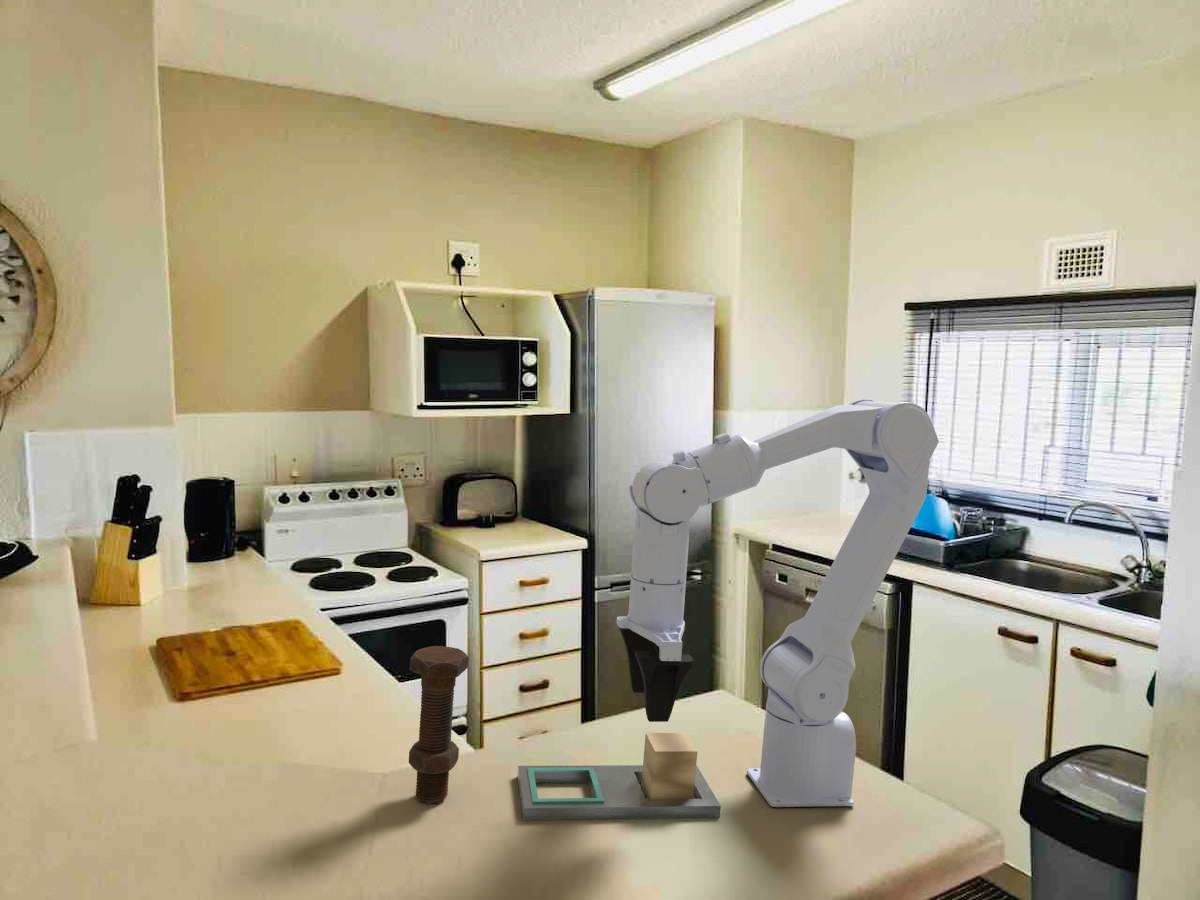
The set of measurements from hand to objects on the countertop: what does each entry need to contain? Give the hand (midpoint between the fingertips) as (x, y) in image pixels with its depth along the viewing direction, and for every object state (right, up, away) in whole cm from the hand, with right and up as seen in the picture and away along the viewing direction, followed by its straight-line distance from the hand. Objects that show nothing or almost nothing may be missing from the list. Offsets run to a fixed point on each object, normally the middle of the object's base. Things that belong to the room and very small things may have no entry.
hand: (649, 705), depth 88 cm
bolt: (-22, -9, -3) cm, 24 cm away
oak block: (+2, -10, +1) cm, 10 cm away
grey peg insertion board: (-4, -10, 0) cm, 10 cm away
